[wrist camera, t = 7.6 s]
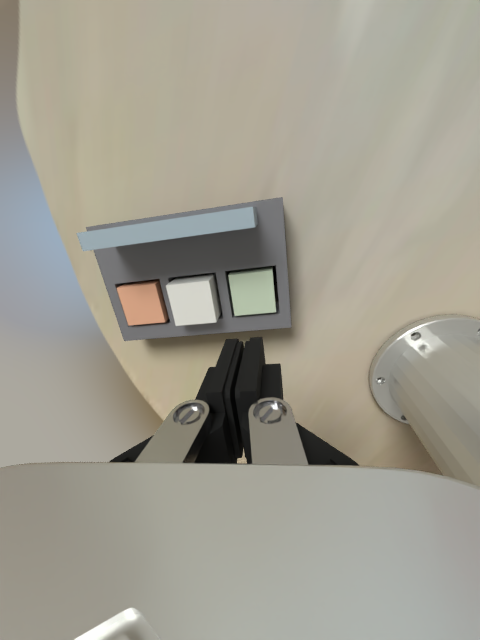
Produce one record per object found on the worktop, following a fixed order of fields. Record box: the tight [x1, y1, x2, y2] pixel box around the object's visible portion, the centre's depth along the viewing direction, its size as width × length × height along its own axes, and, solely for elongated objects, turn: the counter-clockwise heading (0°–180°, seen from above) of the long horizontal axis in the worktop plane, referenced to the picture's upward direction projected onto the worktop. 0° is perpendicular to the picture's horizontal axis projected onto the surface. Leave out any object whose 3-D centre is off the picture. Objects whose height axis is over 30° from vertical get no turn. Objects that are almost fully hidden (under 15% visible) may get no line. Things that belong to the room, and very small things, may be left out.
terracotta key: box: [117, 279, 169, 326], centre depth 25 cm, size 4×4×3 cm
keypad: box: [77, 197, 291, 341], centre depth 22 cm, size 16×10×7 cm, turn 98°
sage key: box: [228, 266, 276, 316], centre depth 23 cm, size 4×4×3 cm
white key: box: [166, 272, 222, 326], centre depth 23 cm, size 4×4×3 cm
